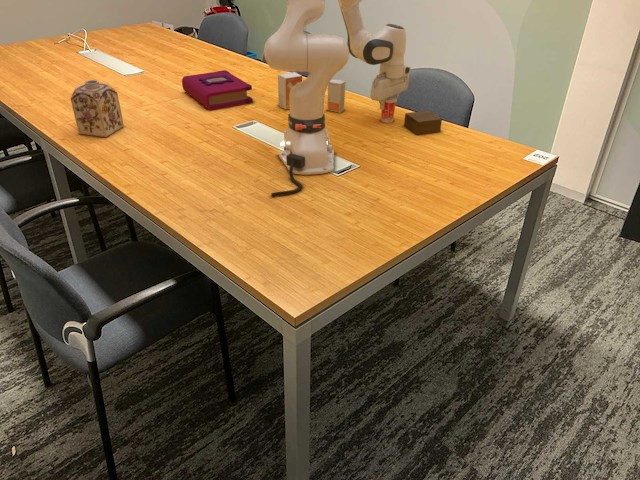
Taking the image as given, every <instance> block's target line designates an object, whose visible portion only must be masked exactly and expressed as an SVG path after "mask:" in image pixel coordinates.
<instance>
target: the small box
mask: <svg viewBox="0 0 640 480" xmlns="http://www.w3.org/2000/svg"><path fill="white" fill-rule="evenodd" d="M301 81H303V75H302V74H299V72H284V73H281V74H277V94H278V95H277V97H278V98H277V99H278V100H277V101H278V106H279V107H280V108H282V109H283V110H290V108H289V93H290V90H291V89H292V87H293V86H294V85H296V84H297V83H299V82H301Z"/></svg>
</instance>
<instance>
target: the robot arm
mask: <svg viewBox="0 0 640 480" xmlns="http://www.w3.org/2000/svg"><path fill="white" fill-rule="evenodd" d="M362 1H363V0H337V2H338V5H339V8H340V12H341V16H342V19H343V22H344V25H345V29H346V33H347V41H346V39H345V37H343V36H339V35H336V34H332V33H306V32H305V31H304V30H305V28H306V27H307V26H308V25H310V24H312V23H314V22H316V21H317V20H319V19H320V18H321V17H322V16H323V14H324V12H325V9H326V7H325V6H326V5H325V3H326V1H325V0H287V2H286V12H285V16H284V19H283V21H282V23H281V24H280V26H279V28H278V29H277V30H276V31H275V32H274V33H273V34H272V35H271V36H269V38H267V40H266V42H265V44H264V47H263V55H264V60H265V62H266V64H267V66H269V68H270V69H271V70H276V71H280V72H284V73H292V72H296V73H308V75H307V77H306V78H305V79H302V81H301V82H299V83H297V84H296V85H294V86H293V87H292V89H291V90H290V93H289V108H290V109H289V113H288V115H287V116H288V117H287V123H288V124H287V125H288V127H287V128H286V129H284V131H283V141H282V142H280V147H281V146H283V150H282V151H279V152H278V157H279V158H280V160H281V162H282V163H283V165H284V166H285V167H286V168H287V170H288V171H289V177H290V180H291V181H292V183H293V184H295V185H296V186H297V187H296V188H294V189H291V190H283V191H275V192H271V193H270V194H271V197H276V196H277V197H278V196H284V195H291V194H295V193H296V194H297V193H298V192H299V191H301V190H302V189H303V184H302V183H300V182H298V181H297V180H296V179H295V177H294V175H301V176H303V175H304V176H305V175H308V176H309V175H322V174H327V173H330V172H333V171H334V166H335V151H334V149H333V144H331V143H330V144H329V142H331V136H329V129H328V128H327V127H326V116H325V113H324V111H325V110H324V109H325V97H326V91H327V89H328V84H329V82H330V80H332V79H333V78H334V77H335V75H336V74H338V73H339V72H340V71H342V70H343V69H344V68H345V66H346V65H347V63H348V61H349V58H350V55H351V56H352V57H353V58H355V59H358V60H359V61H362V62H364V63H366V64H367V65H372V66H376V65H379V71H378V73H379V74H377V75H376V76H375V78H374V79H373V80H372V83H371V88H370V96H369V98H370V99H371V100H372V101H375V102H378V104H379V109H380V110H381V109H382V110H383V109H385V108H386V104H384V101H385V98H388V97H390V96H393V97H396V98H397V101H398V99H399V96H400V94H402V93H403V92H406V91H407V90H408V88H409V83H410V73H411V71H412V70H411V69H412V68H411V67H410V66H408V65H405V57H404V56H405V53H406V49H407V48H406V47H407V32H406V29H405V28H404V27H403V26H401V25H397V24H393V23H387V24H385V25H384V26H383V27H382V28H381V29H380V30H379V31H377V32H375V33H370V31H368V30H367V29H366V27H365V25H364V21H363V18H362V14H361V11H360V3H361V2H362ZM397 101H396V105H397V103H398V102H397Z"/></svg>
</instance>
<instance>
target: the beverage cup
mask: <svg viewBox="0 0 640 480" xmlns="http://www.w3.org/2000/svg"><path fill="white" fill-rule="evenodd" d="M396 101H398V99H397V98H396V97H393V96H390V97H388V98H385V101H384V104H386V108H385V109H383V110H382V109H380V110H381V111H380V112H381V113H380V120H381V122H383V123H387V124H390V123H393V122H394V117H395V110H396V105H397V104H396Z"/></svg>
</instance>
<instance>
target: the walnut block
mask: <svg viewBox="0 0 640 480" xmlns="http://www.w3.org/2000/svg"><path fill="white" fill-rule="evenodd" d="M442 121H443V119H442V118H441V117H439V116H438V115H437V114H435V113H433V112H432V111H430V110H421V111H413V112H405V113H404V122H403V126H404V128H406V129H408V130H409V131H411V132H412V133H413V134H415V135H416V136H421V135H426V134H427V135H429V134H434V133H440V132H441V128H442Z"/></svg>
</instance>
